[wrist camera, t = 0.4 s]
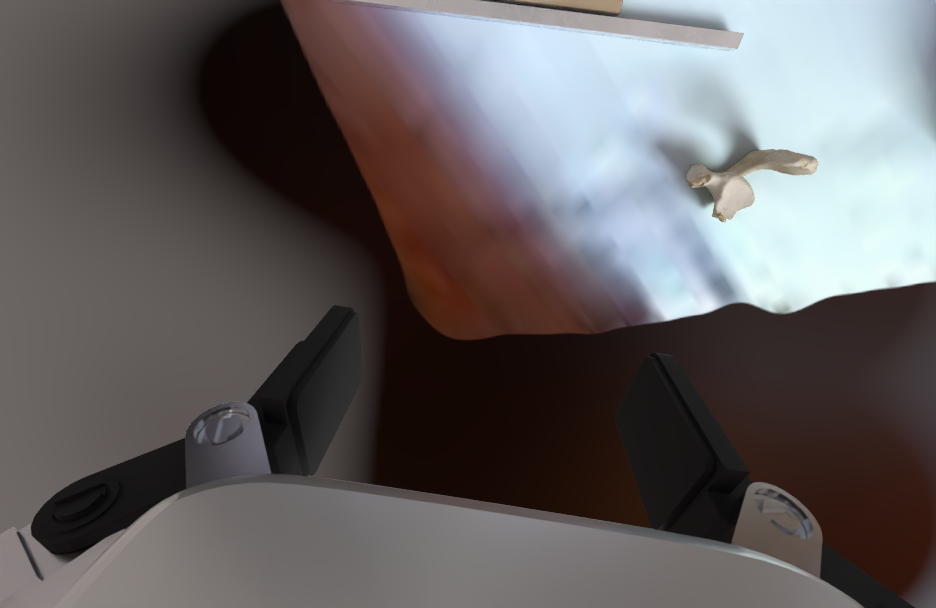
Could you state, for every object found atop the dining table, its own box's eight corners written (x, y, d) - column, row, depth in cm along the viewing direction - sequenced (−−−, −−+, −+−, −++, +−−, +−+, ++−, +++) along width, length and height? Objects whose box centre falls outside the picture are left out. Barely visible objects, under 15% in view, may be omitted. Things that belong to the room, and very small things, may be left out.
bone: (666, 232, 36) (732, 203, 26) (659, 171, 36) (722, 119, 26) (753, 223, 35) (855, 189, 25) (746, 161, 35) (845, 103, 25)
